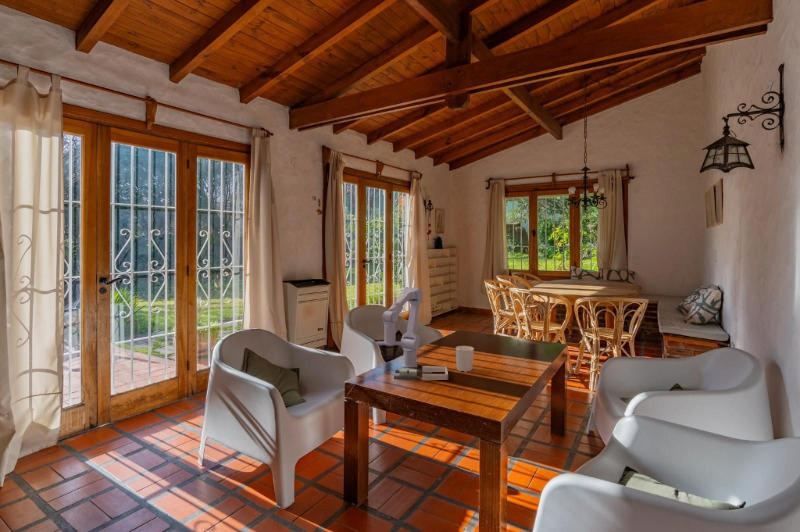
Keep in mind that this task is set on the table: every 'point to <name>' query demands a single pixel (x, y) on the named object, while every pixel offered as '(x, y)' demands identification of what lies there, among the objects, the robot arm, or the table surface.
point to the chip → (412, 372)
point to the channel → (406, 376)
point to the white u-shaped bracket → (434, 376)
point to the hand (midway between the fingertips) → (389, 359)
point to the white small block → (403, 372)
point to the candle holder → (464, 358)
